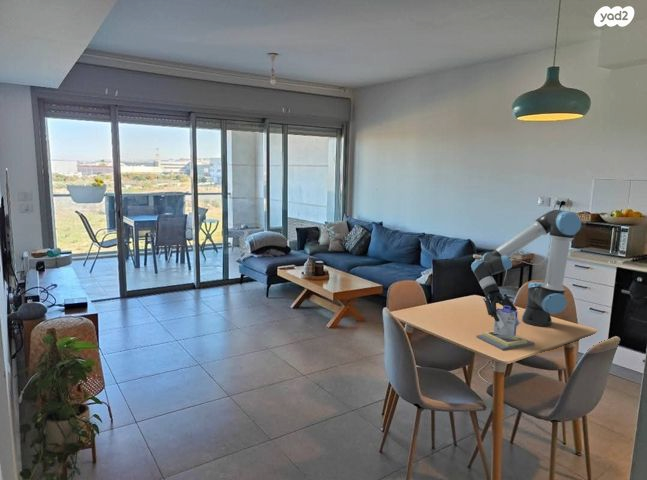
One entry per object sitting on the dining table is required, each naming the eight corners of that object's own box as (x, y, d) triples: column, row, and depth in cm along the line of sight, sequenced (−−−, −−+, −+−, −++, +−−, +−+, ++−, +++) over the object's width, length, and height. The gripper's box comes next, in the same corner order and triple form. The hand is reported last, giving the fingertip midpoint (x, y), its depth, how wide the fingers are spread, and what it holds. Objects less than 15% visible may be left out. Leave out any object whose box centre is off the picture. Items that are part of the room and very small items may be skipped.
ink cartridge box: (516, 334, 221) (518, 306, 219) (514, 338, 216) (516, 309, 214) (495, 330, 226) (497, 303, 224) (493, 333, 222) (495, 306, 219)
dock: (506, 332, 234) (506, 328, 233) (533, 344, 217) (534, 339, 217) (476, 337, 226) (476, 332, 226) (502, 350, 210) (502, 345, 209)
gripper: (501, 289, 237) (522, 326, 225) (468, 292, 228) (488, 331, 216) (510, 281, 231) (531, 320, 219) (476, 284, 223) (497, 324, 211)
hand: (510, 325), depth 218 cm, fingers closed on ink cartridge box, 9 cm apart
